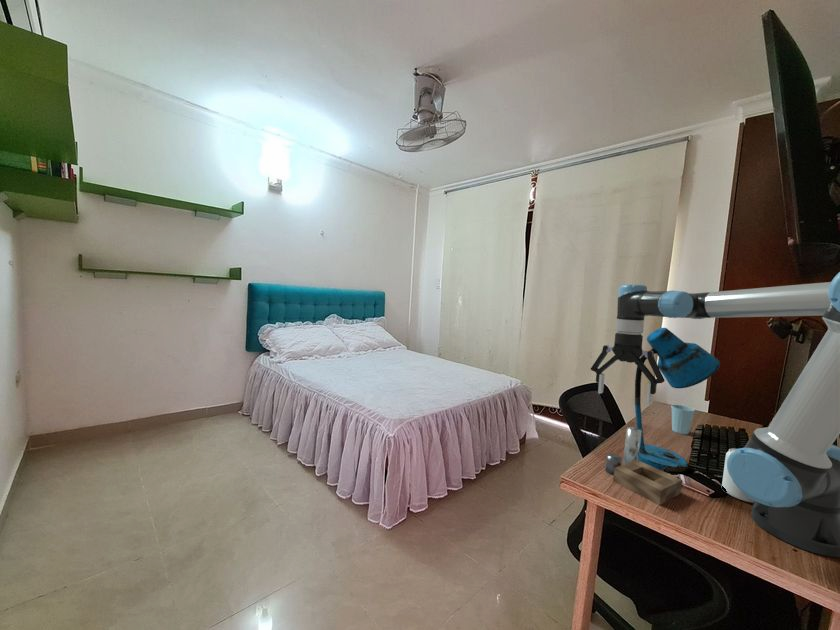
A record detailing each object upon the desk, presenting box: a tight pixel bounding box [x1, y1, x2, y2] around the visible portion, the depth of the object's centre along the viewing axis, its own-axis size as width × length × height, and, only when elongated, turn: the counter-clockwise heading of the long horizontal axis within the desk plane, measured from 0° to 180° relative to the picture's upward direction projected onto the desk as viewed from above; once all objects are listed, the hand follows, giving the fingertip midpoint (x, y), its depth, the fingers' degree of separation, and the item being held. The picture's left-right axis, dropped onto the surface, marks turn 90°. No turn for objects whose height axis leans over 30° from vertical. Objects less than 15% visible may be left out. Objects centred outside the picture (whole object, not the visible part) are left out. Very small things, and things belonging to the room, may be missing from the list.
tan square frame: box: [612, 460, 683, 506], centre depth 93 cm, size 12×12×4 cm
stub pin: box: [604, 452, 623, 476], centre depth 100 cm, size 4×4×5 cm
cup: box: [670, 404, 696, 435], centre depth 137 cm, size 8×8×10 cm
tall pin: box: [622, 426, 642, 465], centre depth 105 cm, size 4×4×12 cm
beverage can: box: [721, 448, 756, 504], centre depth 92 cm, size 8×8×12 cm
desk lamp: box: [634, 327, 721, 471], centre depth 109 cm, size 16×22×45 cm
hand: (623, 398), depth 106 cm, fingers open, 13 cm apart
